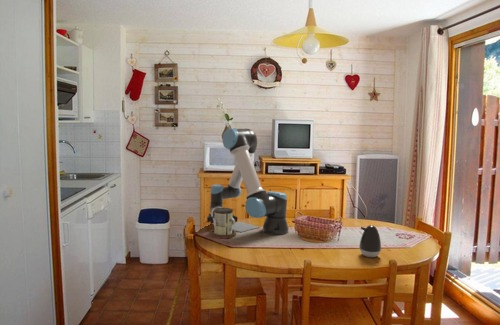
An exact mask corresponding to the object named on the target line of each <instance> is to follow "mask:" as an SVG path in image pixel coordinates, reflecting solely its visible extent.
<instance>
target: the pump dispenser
mask: <svg viewBox="0 0 500 325" xmlns="http://www.w3.org/2000/svg"><path fill="white" fill-rule="evenodd" d="M360 229H361V230H363V232H362V235H361V236H360V241H359V251H360V253H361V254H362V255H363V256H364V257H366V258H376V257H377V256H379V254H380V252H381V251H382V241H381V236H380V233H379V231H378V229H377V227H376V226H374V225H371V224H370V225H368V226H366V227H363V226H361V227H360Z"/></svg>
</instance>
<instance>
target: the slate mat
mask: <svg viewBox="0 0 500 325" xmlns="http://www.w3.org/2000/svg"><path fill="white" fill-rule="evenodd" d="M259 228H260V226H257V225H254V224H249V223H247V222H243V221H237V222H236V223H235V225H233V224H232V230H235V231H236V233H237V232H238V233H243V232H244V233H245V232H248V231H253V230H256V229H259Z"/></svg>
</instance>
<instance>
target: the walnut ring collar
mask: <svg viewBox="0 0 500 325" xmlns="http://www.w3.org/2000/svg"><path fill="white" fill-rule="evenodd" d="M209 235H210V237H213V238H215V237H216V239H217V238H219V239H231V238H235V237H236V236H237V231H235V230H232V234H230V235H217V234H214V228H213V229H211V230H210V231H209Z"/></svg>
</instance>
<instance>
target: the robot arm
mask: <svg viewBox="0 0 500 325" xmlns="http://www.w3.org/2000/svg"><path fill="white" fill-rule="evenodd" d="M222 145H223V147H224V148H225V149H227V150H229V152H230V155H232V156H233V157H234V159H235V162H236V163H235V165H234V168H233V171H232V173H231V176H230V179H229V181H228V184H227V186H224V185H222V184H212V185H211V187H210V206H209V212H210V213H209V214H208V216H207V218H206V222H207V223H210V225H213V227H214V226H216V221H215V219H214V216H215V211H214V210H215V209H217V208H224V207H223V203H224V202H223V200H227V199H228V200H229V199H235V198H239V197H240V196H241V195H242V188H241V185H242V183H243V184H244V186H245V189H246V192H247V195H246V201H245V206H244V207H245V211H246V213H247V214H248V215H249V216H250V217H251V218H254V219H259V218H260V219H263V217H265V219H264V221H263V225H262V231H263V233H265V234H269V235H285V234H288V233H289V225H288V221H287V205H288V199H287V198H288V195H287V193H284V192H279V191H272V190H271V191H270V190H269V191H267V190H266V189H263V187H262V183H261V182H260V178H259V176H258V174H257V171H256V168H255V165H254V162H253V160H252V156H253V155H254V154H255V152H256V150H257V147H258V138H257V133H255V132H254V131H253V129H251V128H250V129H249V128H229V129H227V130H226V131H225V132H224V133H223V136H222ZM242 181H243V182H242ZM237 222H238V216H236V215H234V214H233V217H232V224H233V225H235V223H237Z"/></svg>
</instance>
